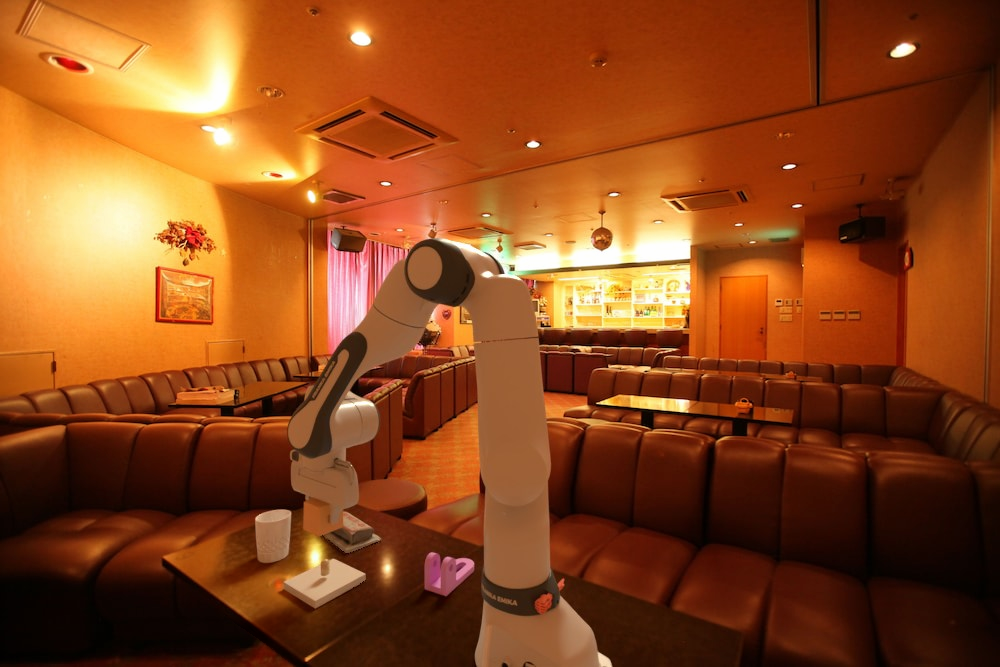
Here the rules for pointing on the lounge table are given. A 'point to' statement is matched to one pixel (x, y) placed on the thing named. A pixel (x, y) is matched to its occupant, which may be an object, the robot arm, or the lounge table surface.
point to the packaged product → (352, 534)
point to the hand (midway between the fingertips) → (323, 518)
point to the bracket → (445, 573)
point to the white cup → (273, 535)
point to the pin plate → (324, 582)
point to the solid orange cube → (319, 517)
